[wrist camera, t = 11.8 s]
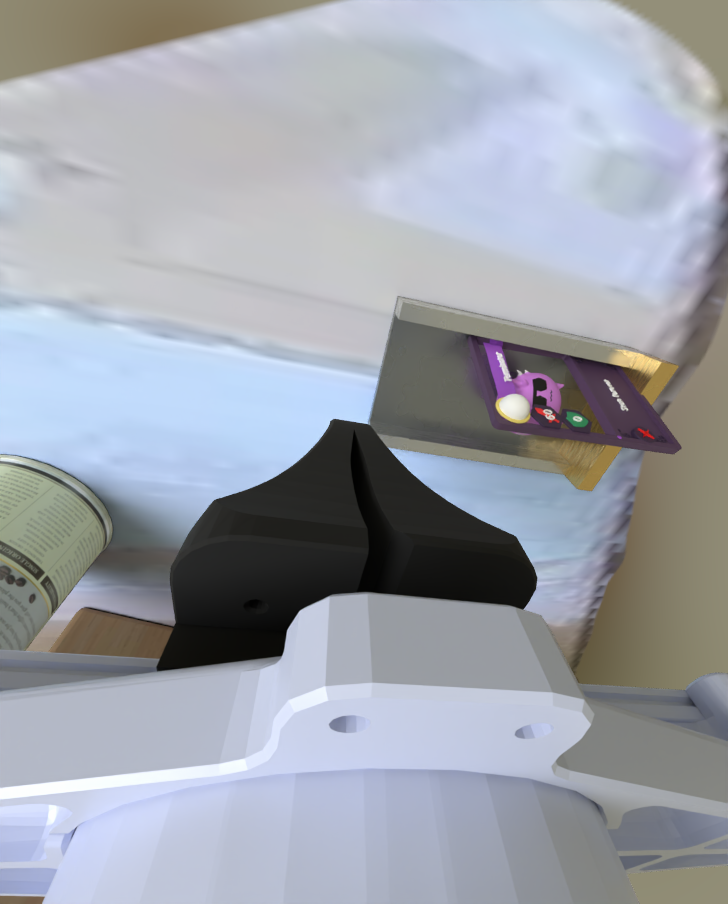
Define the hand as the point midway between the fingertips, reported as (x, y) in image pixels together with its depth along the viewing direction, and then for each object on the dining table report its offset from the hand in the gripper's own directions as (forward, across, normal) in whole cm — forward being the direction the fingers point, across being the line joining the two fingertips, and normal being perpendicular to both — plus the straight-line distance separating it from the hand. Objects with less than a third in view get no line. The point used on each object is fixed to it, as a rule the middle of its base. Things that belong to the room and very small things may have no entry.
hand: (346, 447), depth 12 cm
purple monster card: (+9, -11, -1) cm, 14 cm away
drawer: (+9, -9, 0) cm, 13 cm away
